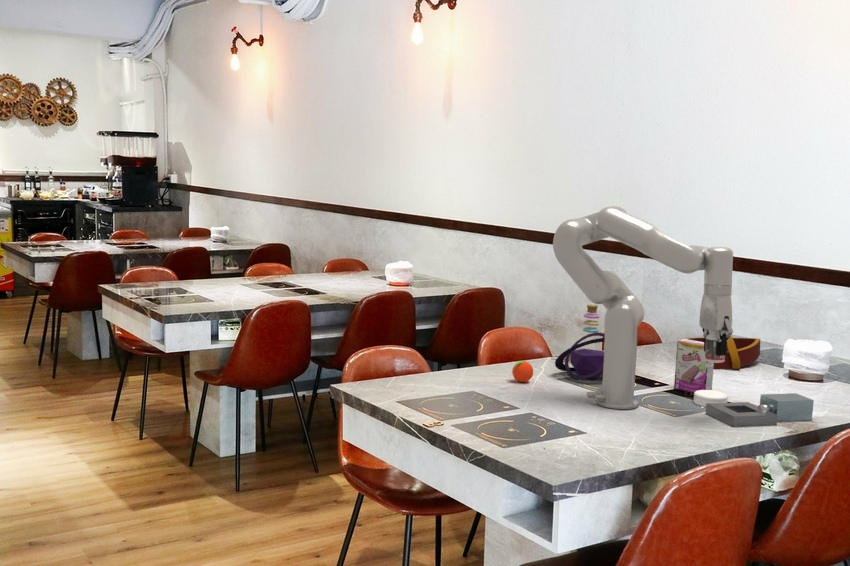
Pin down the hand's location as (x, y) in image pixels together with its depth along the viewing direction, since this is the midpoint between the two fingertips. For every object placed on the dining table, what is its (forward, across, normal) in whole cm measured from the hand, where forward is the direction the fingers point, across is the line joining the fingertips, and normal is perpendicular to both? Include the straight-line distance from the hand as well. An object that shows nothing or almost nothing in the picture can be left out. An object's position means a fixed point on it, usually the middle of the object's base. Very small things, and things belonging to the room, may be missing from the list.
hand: (715, 352), depth 255 cm
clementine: (+17, -48, -41) cm, 65 cm away
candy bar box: (+19, -30, +11) cm, 37 cm away
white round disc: (+19, -15, +8) cm, 26 cm away
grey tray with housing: (+20, +2, +15) cm, 25 cm away
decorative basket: (+19, -73, +48) cm, 90 cm away
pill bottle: (+3, 0, 0) cm, 3 cm away
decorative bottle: (+18, -52, -15) cm, 57 cm away
